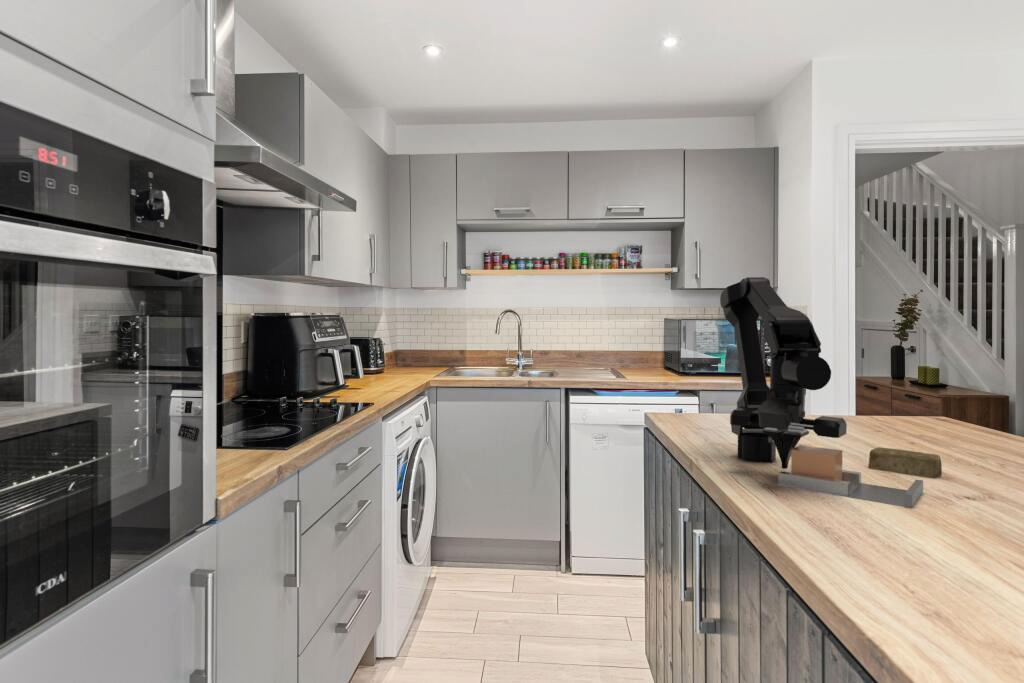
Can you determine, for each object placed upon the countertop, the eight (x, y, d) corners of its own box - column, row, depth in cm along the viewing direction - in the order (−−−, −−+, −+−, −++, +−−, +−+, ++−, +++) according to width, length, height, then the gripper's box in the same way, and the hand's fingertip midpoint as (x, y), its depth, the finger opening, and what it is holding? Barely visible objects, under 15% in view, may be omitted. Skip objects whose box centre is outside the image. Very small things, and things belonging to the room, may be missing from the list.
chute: (776, 490, 105) (776, 473, 105) (796, 477, 113) (796, 462, 113) (911, 514, 92) (912, 495, 91) (922, 498, 100) (923, 480, 100)
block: (791, 482, 106) (791, 449, 106) (799, 477, 110) (800, 445, 110) (834, 490, 101) (834, 455, 101) (842, 483, 105) (842, 450, 105)
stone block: (936, 485, 108) (936, 458, 108) (865, 474, 116) (865, 449, 116) (943, 479, 112) (943, 453, 112) (874, 469, 120) (874, 444, 120)
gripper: (719, 382, 109) (717, 467, 109) (831, 392, 96) (828, 487, 97) (742, 378, 117) (740, 457, 118) (848, 386, 105) (845, 474, 105)
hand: (784, 468), depth 109 cm, fingers closed
